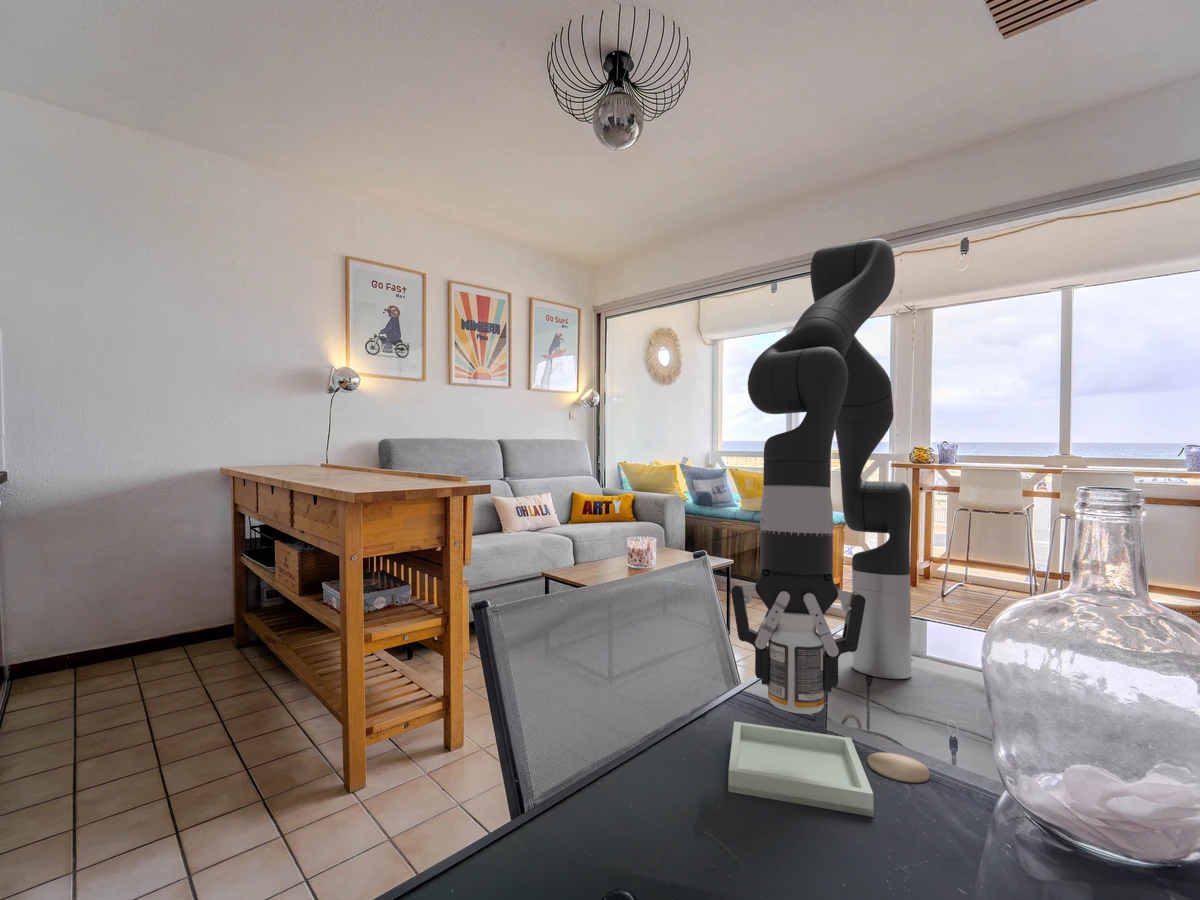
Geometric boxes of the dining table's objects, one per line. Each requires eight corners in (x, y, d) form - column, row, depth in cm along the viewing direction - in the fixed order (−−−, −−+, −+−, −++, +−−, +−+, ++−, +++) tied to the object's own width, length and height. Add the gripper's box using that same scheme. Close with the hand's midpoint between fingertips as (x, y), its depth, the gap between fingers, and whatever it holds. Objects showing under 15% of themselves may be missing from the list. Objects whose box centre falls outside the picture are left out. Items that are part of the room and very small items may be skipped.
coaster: (863, 752, 65) (863, 749, 65) (921, 761, 63) (921, 757, 63) (873, 776, 59) (873, 772, 59) (937, 786, 57) (937, 782, 57)
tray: (733, 738, 67) (734, 721, 67) (851, 756, 64) (851, 737, 64) (728, 791, 55) (728, 770, 55) (873, 816, 51) (873, 794, 51)
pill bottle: (822, 701, 61) (822, 609, 62) (825, 719, 56) (825, 618, 57) (768, 693, 63) (769, 604, 64) (766, 710, 58) (767, 612, 59)
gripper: (861, 530, 63) (861, 684, 62) (730, 524, 67) (728, 669, 65) (874, 533, 56) (875, 707, 54) (727, 526, 60) (724, 688, 58)
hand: (795, 685), depth 60 cm, fingers closed on pill bottle, 5 cm apart
